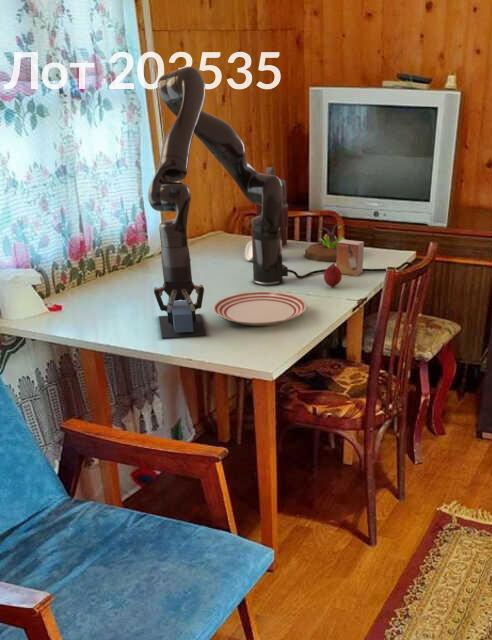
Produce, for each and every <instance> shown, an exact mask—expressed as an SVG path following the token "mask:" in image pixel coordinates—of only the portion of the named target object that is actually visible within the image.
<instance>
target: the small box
mask: <svg viewBox="0 0 492 640" xmlns="http://www.w3.org/2000/svg"><path fill="white" fill-rule="evenodd" d="M364 246H365V241H362V240H361V241H360V240H352V239H350V240H349V239H346V238H344V239H342V240H341V241H339V242H337V262H335V266H336V267H338V268H339V270H340V271H341V274H344V275H349V276H354V277H358V276H359V275H360V274H362V273H363V271H362V269H364V249H365V247H364Z"/></svg>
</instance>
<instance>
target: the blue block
mask: <svg viewBox="0 0 492 640" xmlns="http://www.w3.org/2000/svg"><path fill="white" fill-rule="evenodd" d="M172 314H173V324H174V330H175V333H180V332H194V331H193V320H192V312H191V308H190V307H189V305H188V303H187V301H186V300H178V301H174V304H173V307H172Z"/></svg>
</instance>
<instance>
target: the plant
mask: <svg viewBox="0 0 492 640" xmlns="http://www.w3.org/2000/svg"><path fill="white" fill-rule="evenodd" d="M336 228H337V229H338V230H340V231H341V230H342V229H343V226H342V225H341V224H335V225H334V226H333V228H332V230H331V232H330V229H328V228H326V227H321V228H319V233H321V234H322V233H323V232H324V231H326V232H327V233H325V234H324V236H323V238H318V240H319V241H321V242H314V243H311V244H310V245H309V246H308V247H307V248H305V250H304V255H305V257H306V258H307V259H308V260H316V261H319V262H331V263H333V262H334V263H337V242H339V241H341V240H342V239H345V237H344V236H342V237H340V238H337V237H336V233H335V232H336Z"/></svg>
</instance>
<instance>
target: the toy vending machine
mask: <svg viewBox="0 0 492 640" xmlns="http://www.w3.org/2000/svg"><path fill="white" fill-rule="evenodd" d="M265 174H269V175H274V176H276V169H275V167H273V166H272V167H270V166H267V167H266V169H265ZM280 181H281V184H282V189H283V201H282V219H281V222H280V236H281V239H282V248H283V247H285V246H286V245H288V228H289V204H288V202H287V182H286V180H285V179H280ZM261 213H262V205H257V204H255V217H257V216H260V215H261Z"/></svg>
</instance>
